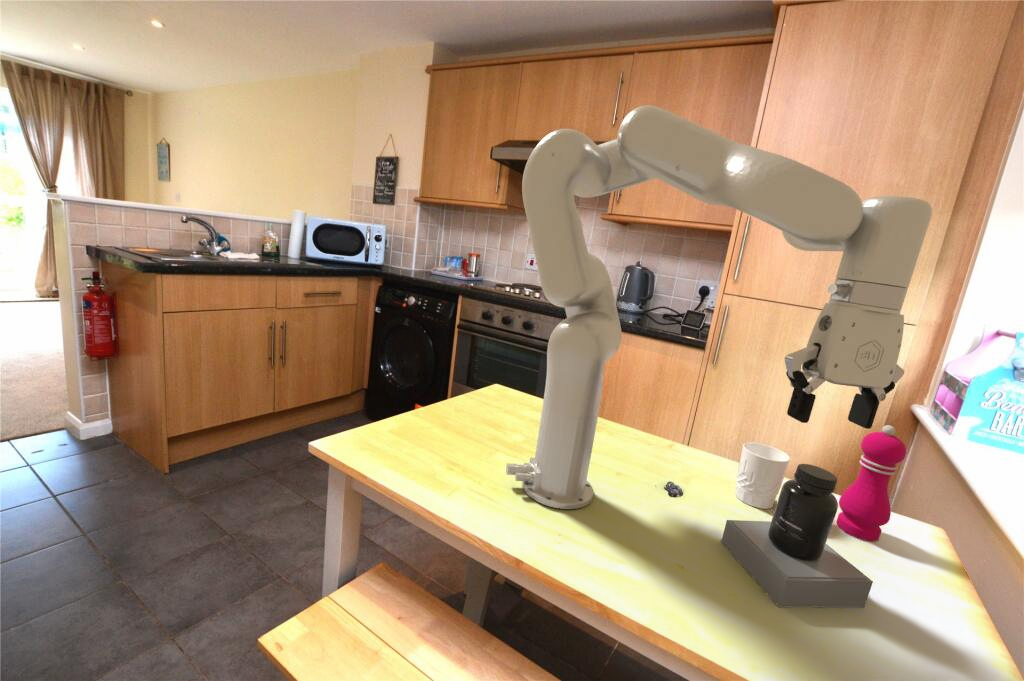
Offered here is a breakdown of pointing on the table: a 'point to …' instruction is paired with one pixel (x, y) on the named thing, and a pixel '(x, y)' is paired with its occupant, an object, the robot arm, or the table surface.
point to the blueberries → (673, 489)
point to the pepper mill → (871, 486)
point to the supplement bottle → (804, 513)
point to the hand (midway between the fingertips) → (828, 421)
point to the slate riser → (795, 570)
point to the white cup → (760, 474)
